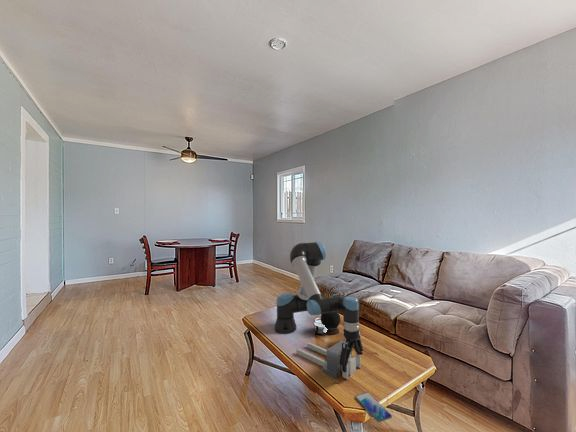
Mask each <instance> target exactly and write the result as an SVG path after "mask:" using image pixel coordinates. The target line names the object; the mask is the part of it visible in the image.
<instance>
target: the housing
mask: <svg viewBox="0 0 576 432" xmlns="http://www.w3.org/2000/svg"><path fill="white" fill-rule="evenodd" d="M345 342H346V341H345V340H342V339H341V340H340V341H338V342H337V343H335V344H333V345H332V346H330V347H329V348H328V349H326V350H327V366H324V367H323V366H322V368H321V369H322V373H324V374H326V375H328V376H330V377H332V378H333V379H338V377H340V374H341V370H340V364H339V362H340V356H341V350H342V343H345ZM348 349H350V348H348ZM352 351H353V350H352ZM352 351H351V352H350V355H352V356H353V354H352Z"/></svg>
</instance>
